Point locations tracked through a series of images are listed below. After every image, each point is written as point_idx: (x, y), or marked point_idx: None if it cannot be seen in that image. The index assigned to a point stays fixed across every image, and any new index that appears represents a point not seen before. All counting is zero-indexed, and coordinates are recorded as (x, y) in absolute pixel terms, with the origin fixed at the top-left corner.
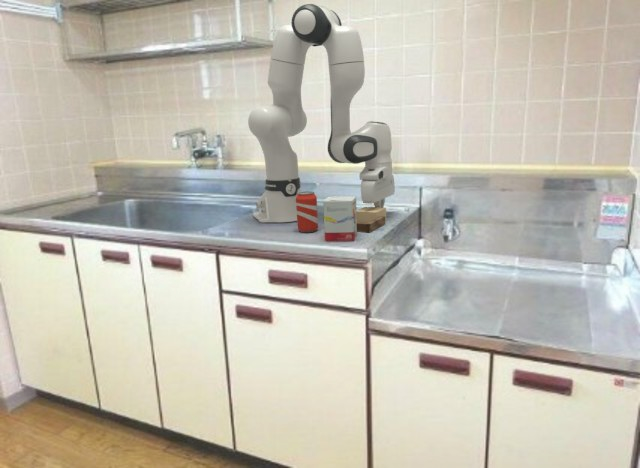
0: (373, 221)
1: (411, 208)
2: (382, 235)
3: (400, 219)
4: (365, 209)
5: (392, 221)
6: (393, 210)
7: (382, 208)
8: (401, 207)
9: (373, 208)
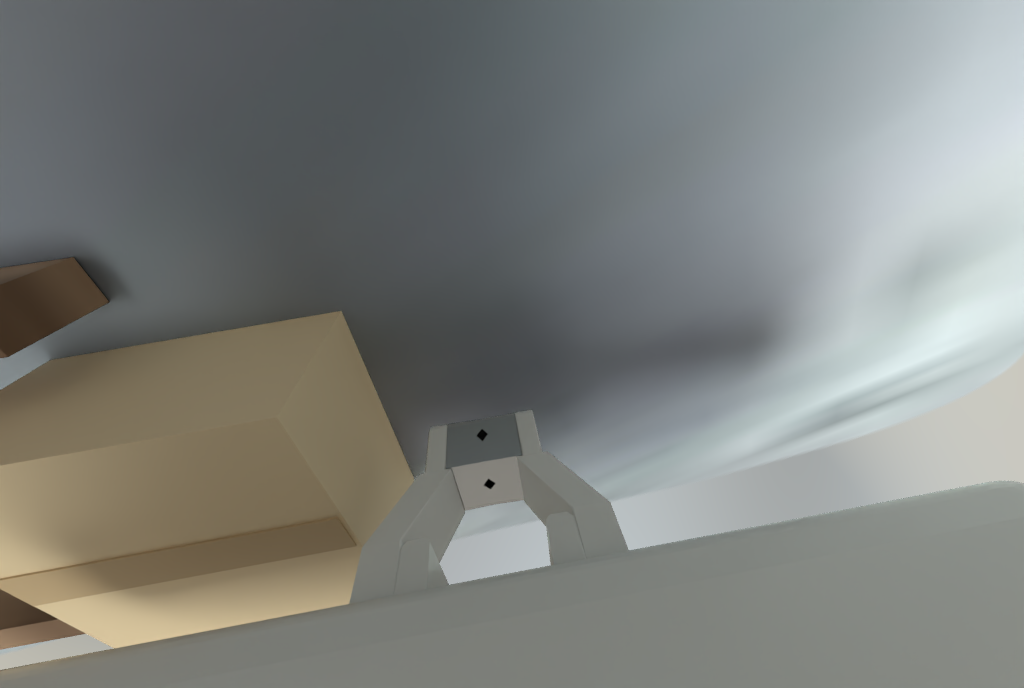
0: (25, 636)
1: (925, 402)
2: (42, 642)
3: (495, 522)
4: (117, 524)
5: None
6: (855, 322)
7: (339, 600)
8: (1007, 312)
9: (257, 557)
